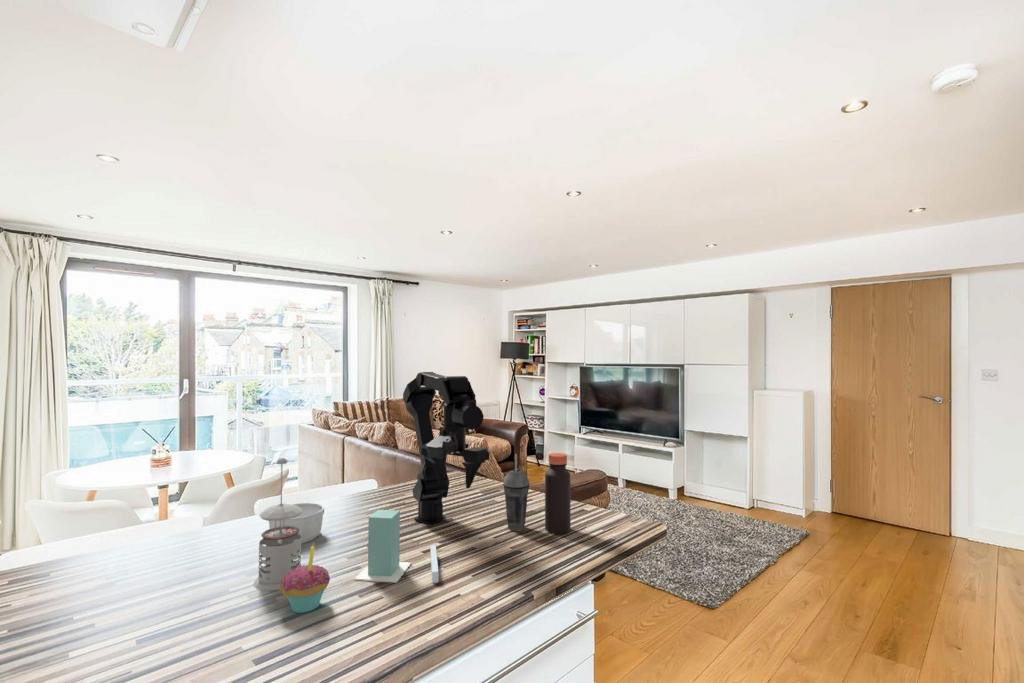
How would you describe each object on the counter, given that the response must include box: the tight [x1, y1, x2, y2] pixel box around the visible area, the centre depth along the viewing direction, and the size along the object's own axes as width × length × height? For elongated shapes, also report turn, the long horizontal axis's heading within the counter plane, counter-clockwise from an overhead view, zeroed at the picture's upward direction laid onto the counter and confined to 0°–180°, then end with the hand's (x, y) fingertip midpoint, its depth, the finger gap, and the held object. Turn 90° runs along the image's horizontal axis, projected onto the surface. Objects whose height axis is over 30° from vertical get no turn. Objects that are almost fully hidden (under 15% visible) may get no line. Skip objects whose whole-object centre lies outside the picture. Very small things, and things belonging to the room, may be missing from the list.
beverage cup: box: [502, 453, 531, 532], centre depth 130 cm, size 7×7×20 cm
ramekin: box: [268, 502, 325, 546], centre depth 123 cm, size 13×13×7 cm
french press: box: [252, 457, 302, 592], centre depth 101 cm, size 10×12×25 cm
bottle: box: [544, 452, 572, 535], centre depth 129 cm, size 7×7×20 cm
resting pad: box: [354, 561, 412, 584], centre depth 103 cm, size 9×9×1 cm
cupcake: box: [279, 542, 331, 614], centre depth 89 cm, size 9×8×12 cm
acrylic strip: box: [429, 545, 439, 584], centre depth 105 cm, size 14×1×2 cm, turn 11°
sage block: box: [367, 509, 401, 576], centre depth 103 cm, size 5×5×12 cm
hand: (454, 485), depth 124 cm, fingers open, 9 cm apart
